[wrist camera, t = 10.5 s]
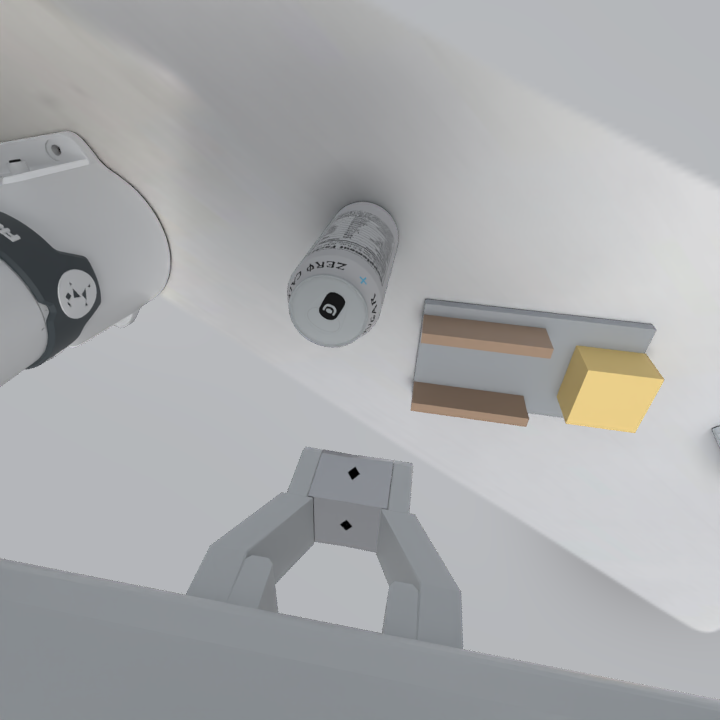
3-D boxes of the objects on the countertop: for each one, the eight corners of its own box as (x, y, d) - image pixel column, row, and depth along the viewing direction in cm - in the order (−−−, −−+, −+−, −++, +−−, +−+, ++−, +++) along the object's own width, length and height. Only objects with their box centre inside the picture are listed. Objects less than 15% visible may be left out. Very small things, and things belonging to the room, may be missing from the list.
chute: (412, 391, 47) (409, 418, 43) (425, 299, 40) (423, 321, 37) (606, 417, 44) (621, 449, 41) (651, 324, 38) (674, 351, 35)
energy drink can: (320, 244, 39) (263, 324, 27) (352, 184, 36) (304, 244, 24) (377, 279, 40) (347, 371, 28) (413, 223, 37) (397, 300, 24)
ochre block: (556, 396, 43) (565, 423, 40) (576, 345, 39) (588, 370, 36) (620, 404, 42) (634, 433, 39) (645, 353, 39) (664, 379, 36)
